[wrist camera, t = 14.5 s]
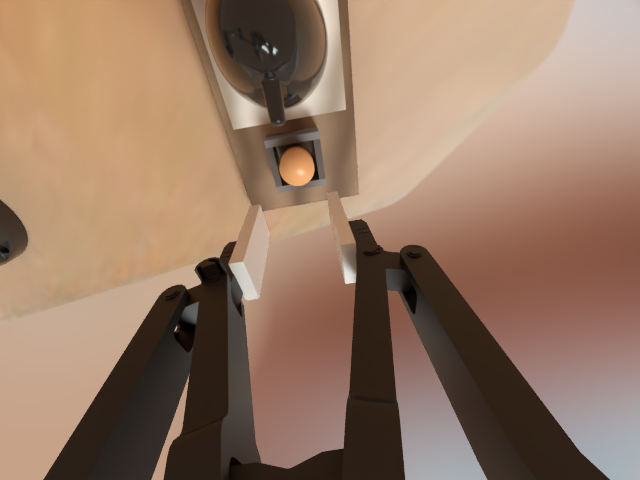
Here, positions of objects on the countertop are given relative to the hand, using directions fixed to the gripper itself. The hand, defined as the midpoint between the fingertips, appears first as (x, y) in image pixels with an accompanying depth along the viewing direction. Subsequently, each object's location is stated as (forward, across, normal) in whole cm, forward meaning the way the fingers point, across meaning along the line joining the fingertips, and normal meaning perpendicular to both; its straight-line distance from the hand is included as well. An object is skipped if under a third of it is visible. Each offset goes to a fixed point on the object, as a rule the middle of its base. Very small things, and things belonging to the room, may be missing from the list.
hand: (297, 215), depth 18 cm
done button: (+14, 0, 0) cm, 14 cm away
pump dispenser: (+17, 0, +11) cm, 20 cm away
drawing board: (+19, 0, +6) cm, 20 cm away
